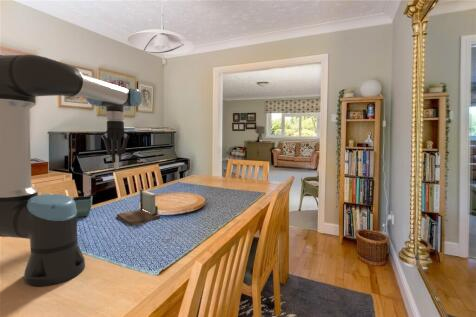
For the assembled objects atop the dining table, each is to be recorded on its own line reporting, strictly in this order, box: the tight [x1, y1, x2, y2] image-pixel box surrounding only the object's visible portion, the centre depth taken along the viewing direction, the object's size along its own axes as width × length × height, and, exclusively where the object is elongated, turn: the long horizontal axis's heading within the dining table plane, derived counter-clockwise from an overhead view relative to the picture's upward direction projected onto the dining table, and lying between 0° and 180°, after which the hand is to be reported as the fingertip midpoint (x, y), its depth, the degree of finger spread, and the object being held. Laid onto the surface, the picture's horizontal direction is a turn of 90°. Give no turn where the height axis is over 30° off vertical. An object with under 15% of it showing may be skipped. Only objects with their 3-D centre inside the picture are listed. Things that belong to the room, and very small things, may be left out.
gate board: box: [116, 188, 161, 226], centre depth 131 cm, size 15×16×12 cm
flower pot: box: [72, 195, 93, 218], centre depth 133 cm, size 9×9×9 cm
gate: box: [142, 190, 156, 214], centre depth 134 cm, size 10×2×10 cm, turn 46°
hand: (116, 168), depth 130 cm, fingers closed
